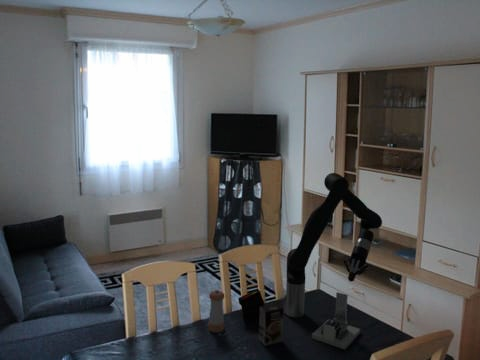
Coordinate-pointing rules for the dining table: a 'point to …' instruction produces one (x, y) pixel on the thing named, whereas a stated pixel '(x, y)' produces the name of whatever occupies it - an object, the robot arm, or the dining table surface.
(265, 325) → the coffee box
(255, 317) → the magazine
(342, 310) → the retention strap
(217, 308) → the pepper shaker
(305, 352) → the dining table surface
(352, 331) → the grey square stand
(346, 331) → the heat sink
